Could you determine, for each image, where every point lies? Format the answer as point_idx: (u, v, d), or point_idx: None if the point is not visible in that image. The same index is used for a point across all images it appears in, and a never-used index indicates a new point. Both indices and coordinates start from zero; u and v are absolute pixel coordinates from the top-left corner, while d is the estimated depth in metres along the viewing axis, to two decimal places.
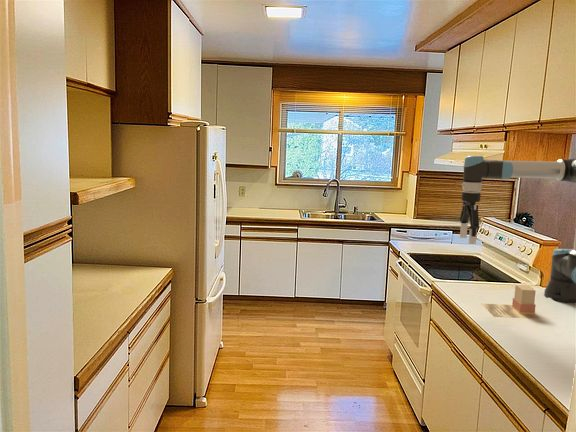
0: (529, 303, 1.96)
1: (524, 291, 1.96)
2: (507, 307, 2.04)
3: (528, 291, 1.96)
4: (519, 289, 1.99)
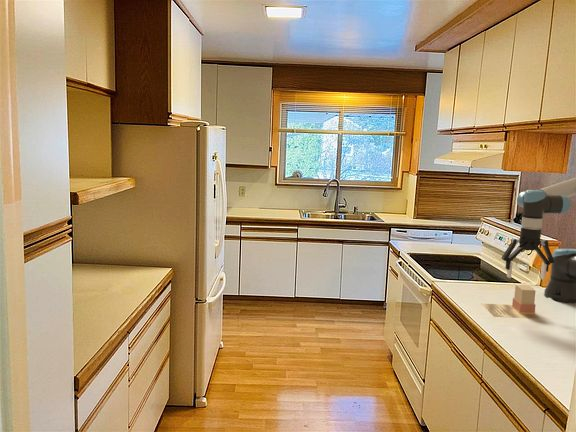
0: (529, 303, 1.96)
1: (524, 291, 1.96)
2: (507, 307, 2.04)
3: (528, 291, 1.96)
4: (519, 289, 1.99)
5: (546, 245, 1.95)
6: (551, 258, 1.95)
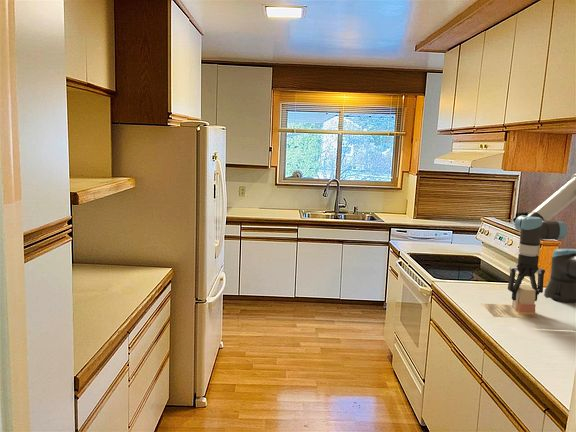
0: (529, 303, 1.96)
1: (524, 291, 1.96)
2: (507, 307, 2.04)
3: (528, 291, 1.96)
4: (519, 289, 1.99)
5: (542, 274, 1.97)
6: (541, 288, 1.98)
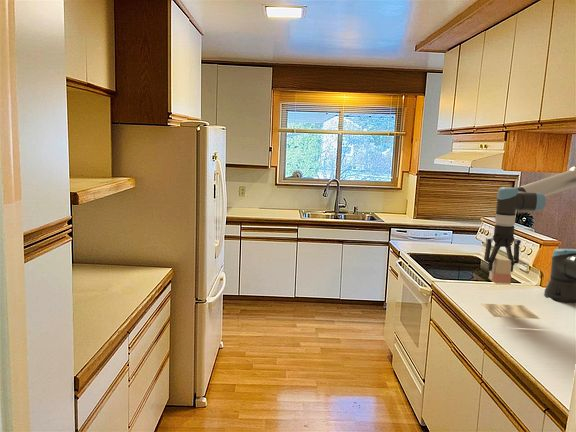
0: (505, 273, 1.97)
1: (500, 261, 1.97)
2: (507, 307, 2.04)
3: (504, 261, 1.97)
4: (495, 260, 2.00)
5: (517, 244, 1.98)
6: (517, 258, 1.99)
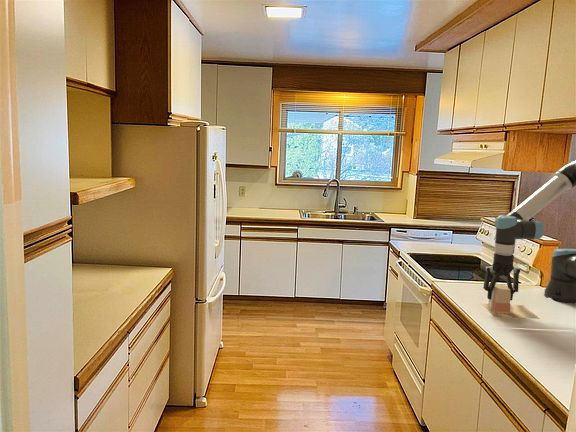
0: (504, 302, 1.97)
1: (499, 290, 1.96)
2: None
3: (503, 290, 1.96)
4: (494, 288, 1.99)
5: (517, 273, 1.97)
6: (516, 287, 1.98)
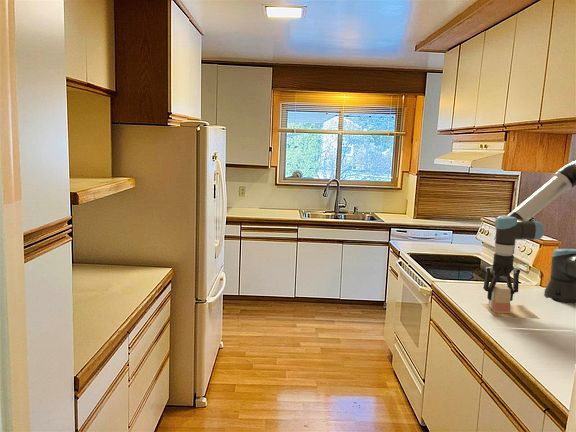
0: (504, 302, 1.96)
1: (499, 290, 1.96)
2: None
3: (503, 290, 1.96)
4: (495, 288, 1.99)
5: (517, 273, 1.97)
6: (516, 287, 1.98)
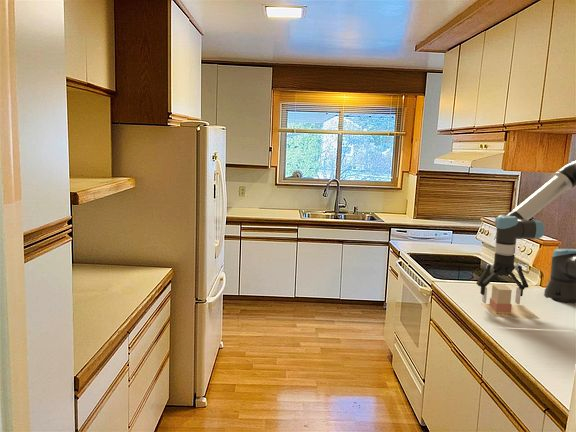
0: (505, 303, 1.96)
1: (500, 291, 1.96)
2: None
3: (504, 291, 1.95)
4: (495, 289, 1.98)
5: (520, 270, 1.96)
6: (525, 283, 1.97)
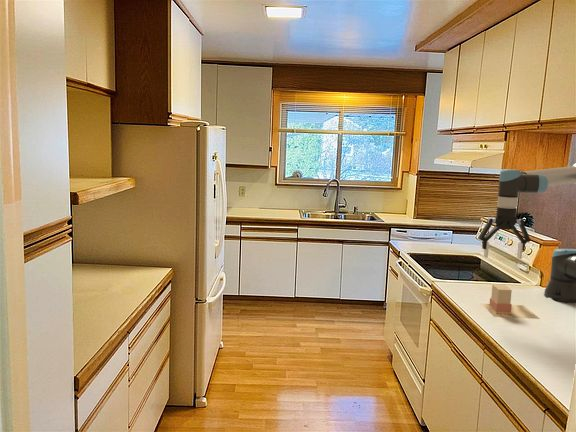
0: (505, 303, 1.96)
1: (500, 291, 1.96)
2: None
3: (504, 291, 1.95)
4: (495, 289, 1.98)
5: (522, 224, 1.95)
6: (527, 237, 1.96)
